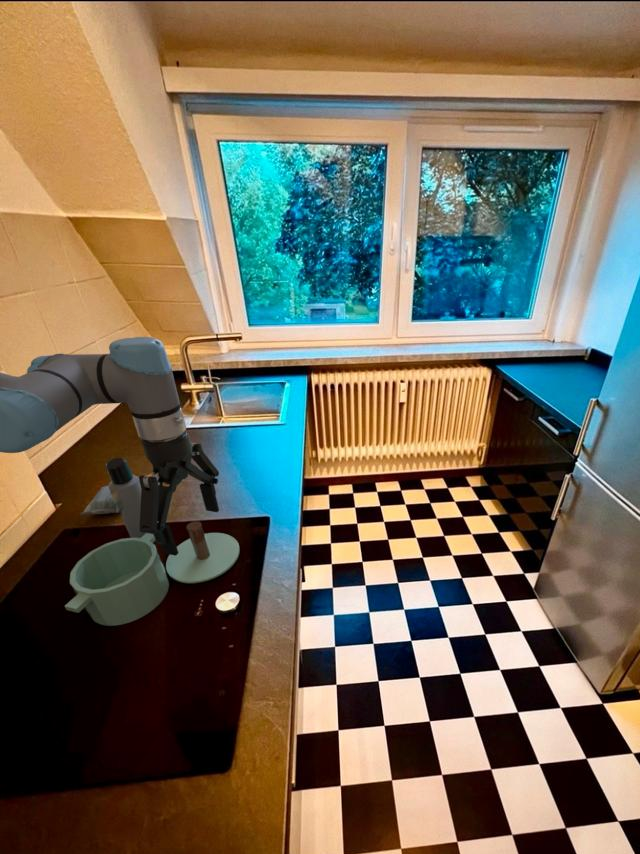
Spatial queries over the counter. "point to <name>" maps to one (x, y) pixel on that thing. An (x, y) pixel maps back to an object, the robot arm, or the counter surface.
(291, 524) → the counter surface
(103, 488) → the packaged food
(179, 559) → the lid
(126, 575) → the pot
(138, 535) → the lotion bottle
